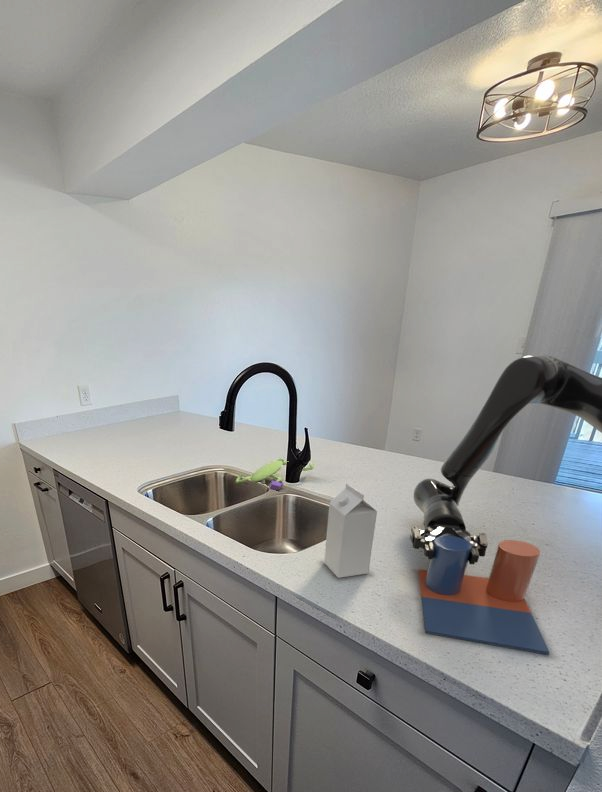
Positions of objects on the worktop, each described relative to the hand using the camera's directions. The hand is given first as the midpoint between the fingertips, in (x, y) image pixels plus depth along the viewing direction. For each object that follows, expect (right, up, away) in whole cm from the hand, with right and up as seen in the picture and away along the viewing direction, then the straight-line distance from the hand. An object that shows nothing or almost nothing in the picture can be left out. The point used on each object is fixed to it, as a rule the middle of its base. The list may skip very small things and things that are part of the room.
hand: (452, 557), depth 83 cm
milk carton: (-15, -3, +15) cm, 22 cm away
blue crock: (+1, -6, +6) cm, 8 cm away
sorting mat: (+4, -9, 0) cm, 10 cm away
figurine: (-21, +25, +71) cm, 78 cm away
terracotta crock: (+12, -7, +3) cm, 14 cm away
